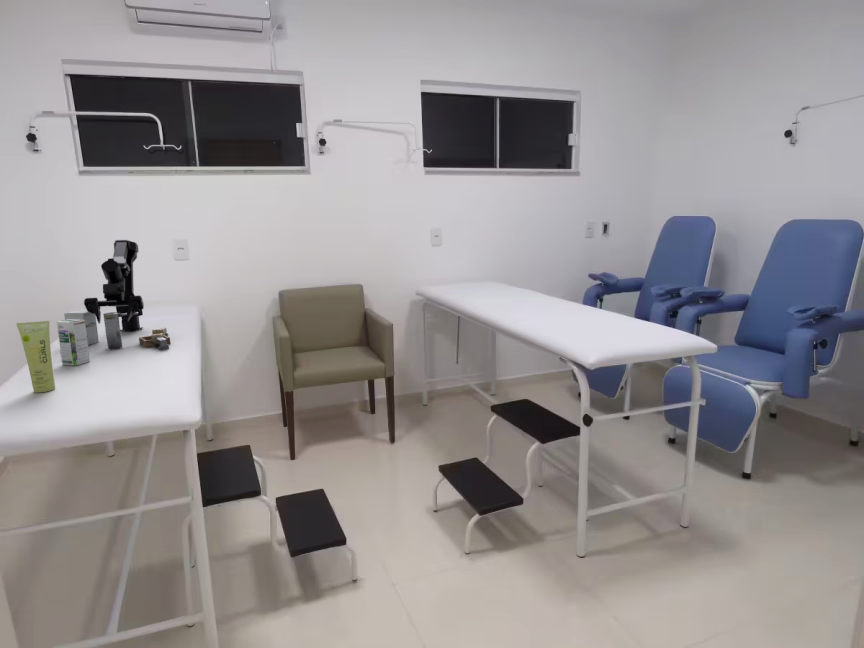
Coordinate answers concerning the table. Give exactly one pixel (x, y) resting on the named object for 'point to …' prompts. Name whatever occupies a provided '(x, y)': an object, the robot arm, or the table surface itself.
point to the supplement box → (86, 323)
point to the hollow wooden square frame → (150, 340)
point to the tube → (38, 354)
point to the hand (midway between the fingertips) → (113, 322)
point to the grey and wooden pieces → (159, 338)
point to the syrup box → (73, 342)
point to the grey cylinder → (112, 330)
